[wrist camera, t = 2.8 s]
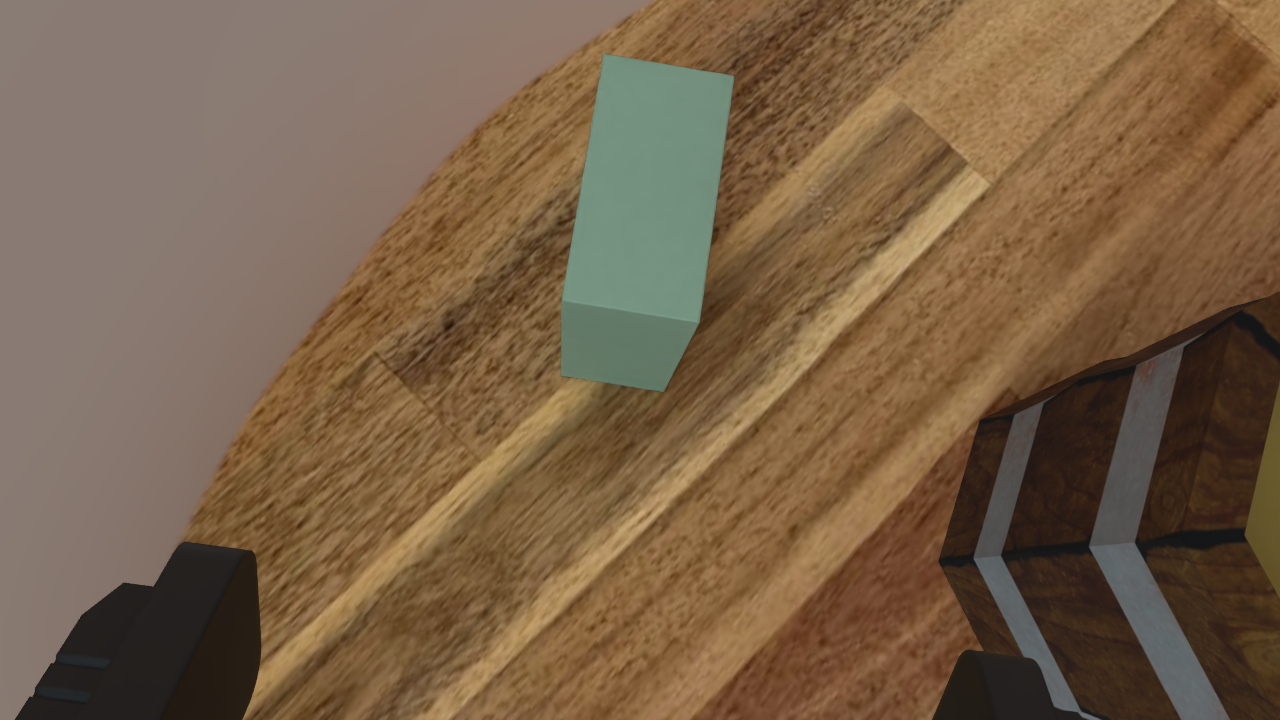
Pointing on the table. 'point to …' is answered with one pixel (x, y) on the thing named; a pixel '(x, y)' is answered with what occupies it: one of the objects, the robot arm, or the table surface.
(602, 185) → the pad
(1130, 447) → the mug
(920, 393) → the table surface
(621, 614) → the table surface
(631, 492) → the table surface
